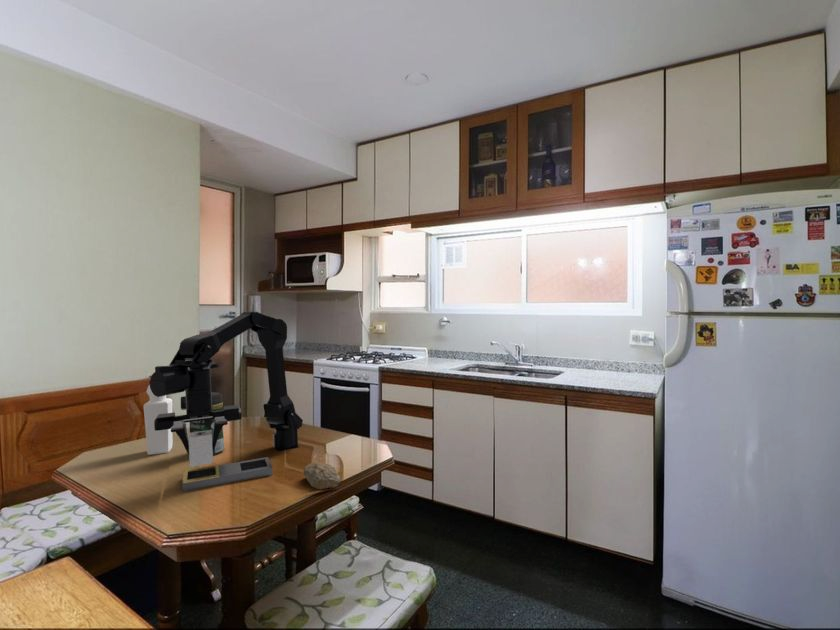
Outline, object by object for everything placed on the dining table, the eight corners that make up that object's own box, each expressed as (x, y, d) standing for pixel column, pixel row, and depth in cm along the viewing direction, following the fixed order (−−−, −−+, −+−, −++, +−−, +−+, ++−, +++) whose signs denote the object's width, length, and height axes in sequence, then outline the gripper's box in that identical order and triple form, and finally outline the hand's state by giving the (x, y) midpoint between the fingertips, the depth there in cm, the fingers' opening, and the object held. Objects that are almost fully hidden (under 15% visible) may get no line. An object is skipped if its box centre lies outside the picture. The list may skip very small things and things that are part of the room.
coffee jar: (184, 455, 129) (181, 393, 129) (206, 447, 137) (204, 388, 136) (207, 459, 125) (204, 395, 125) (229, 450, 133) (227, 389, 132)
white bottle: (174, 446, 139) (171, 377, 138) (169, 453, 132) (166, 380, 132) (151, 449, 136) (148, 379, 136) (145, 456, 130) (142, 382, 130)
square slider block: (212, 457, 111) (211, 429, 110) (212, 463, 106) (211, 434, 106) (190, 460, 108) (189, 432, 108) (189, 467, 104) (188, 437, 104)
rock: (316, 495, 99) (315, 476, 99) (299, 480, 108) (298, 462, 108) (347, 486, 103) (346, 468, 103) (328, 472, 112) (327, 455, 112)
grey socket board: (268, 465, 118) (267, 456, 118) (272, 476, 110) (272, 466, 110) (184, 480, 110) (184, 470, 109) (182, 493, 101) (182, 482, 101)
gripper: (237, 380, 118) (240, 437, 119) (157, 388, 110) (160, 449, 110) (240, 386, 108) (242, 448, 108) (152, 395, 100) (155, 462, 100)
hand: (201, 451), depth 107 cm, fingers closed on square slider block, 5 cm apart
